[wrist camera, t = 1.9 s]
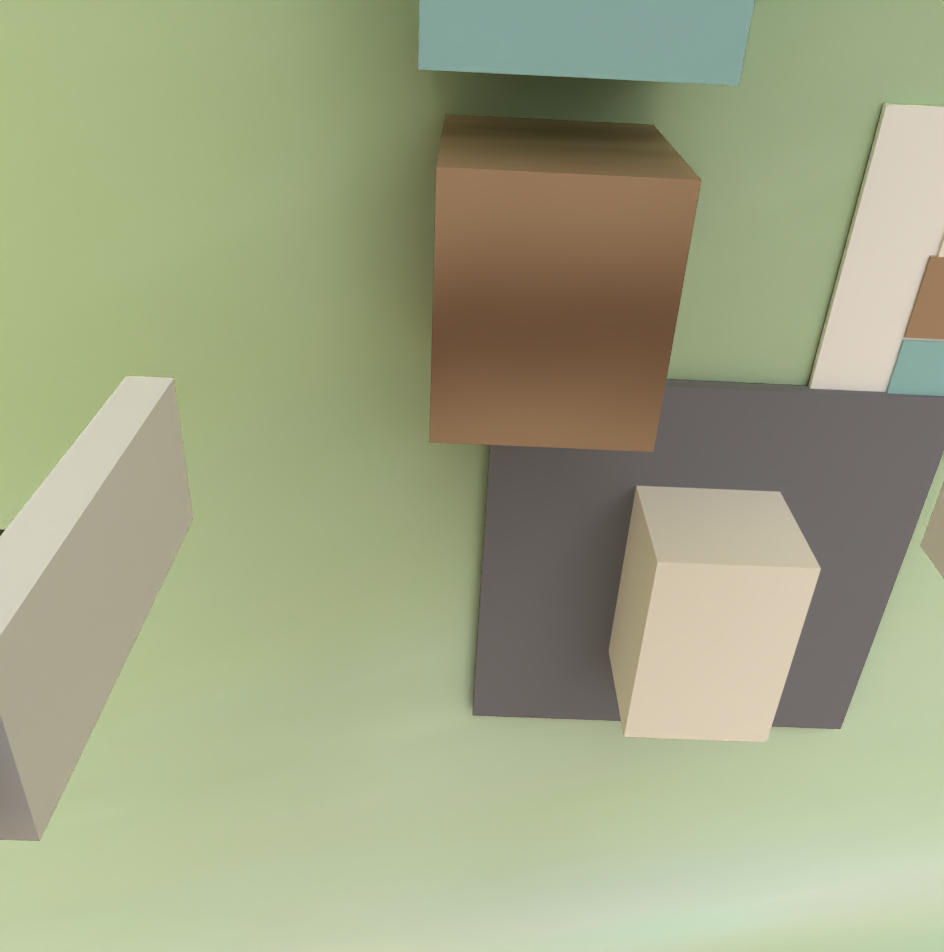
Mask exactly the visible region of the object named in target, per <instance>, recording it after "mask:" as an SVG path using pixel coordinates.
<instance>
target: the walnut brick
mask: <svg viewBox="0 0 944 952" xmlns="http://www.w3.org/2000/svg"><path fill="white" fill-rule="evenodd" d="M700 185H701V179H700V178H699V177H698V176H697V175H696V173H695V172H694V171H693V170H692V169H691V168H690V167H689V165H688V164H687V163H686V162H685V161H684V160H683V158H682V157H681V156H680V155H679V154H678V153H677V152H676V150H675V149H674V148H673V147H672V146H671V145H670V144H669V142H668V141H667V140H666V139H665V138H664V137H663V135H662V134H661V133H660V132H659V131H658V130H657V129H656V127H655V126H654V125H648V124H628V123H608V122H588V121H568V120H548V119H528V118H509V117H489V116H469V115H449V114H445V120H444V126H443V131H442V137H441V143H440V148H439V154H438V160H437V166H436V197H435V238H434V278H433V319H432V360H431V400H430V441H429V442H437V443H460V444H483V445H506V446H529V447H552V448H575V449H598V450H621V451H644V452H654V446H655V441H656V435H657V429H658V424H659V418H660V412H661V407H662V401H663V395H664V390H665V384H666V378H667V372H668V367H669V361H670V355H671V350H672V344H673V338H674V333H675V327H676V321H677V316H678V310H679V304H680V298H681V293H682V287H683V281H684V276H685V270H686V264H687V259H688V253H689V247H690V242H691V236H692V230H693V225H694V219H695V213H696V207H697V202H698V196H699V190H700Z"/></svg>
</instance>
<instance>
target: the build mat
mask: <svg viewBox="0 0 944 952" xmlns="http://www.w3.org/2000/svg"><path fill="white" fill-rule="evenodd" d="M943 451H944V396H933V395H910V394H888V393H886V392H875V391H852V390H830V389H810V388H809V386H803V385H781V384H758V383H736V382H714V381H691V380H669V379H666V384H665V390H664V395H663V401H662V407H661V412H660V418H659V424H658V429H657V435H656V441H655V446H654V452H644V451H621V450H598V449H575V448H552V447H529V446H506V445H490V451H489V466H488V482H487V497H486V512H485V528H484V543H483V559H482V574H481V589H480V605H479V620H478V636H477V651H476V667H475V682H474V697H473V715H476V716H503V717H530V718H557V719H584V720H611V721H621V723H622V729H623V734H624V737H639V738H666V739H693V740H720V741H748V742H767V739H768V736H769V733H770V730H771V727H799V728H826V729H841V726H842V723H843V721H844V718H845V715H846V713H847V710H848V707H849V705H850V702H851V699H852V696H853V694H854V691H855V688H856V686H857V683H858V680H859V678H860V675H861V672H862V670H863V667H864V664H865V661H866V659H867V656H868V653H869V651H870V648H871V645H872V643H873V640H874V637H875V635H876V632H877V629H878V626H879V624H880V621H881V618H882V616H883V613H884V610H885V608H886V605H887V602H888V599H889V597H890V594H891V591H892V589H893V586H894V583H895V581H896V578H897V575H898V573H899V570H900V567H901V564H902V562H903V559H904V556H905V554H906V551H907V548H908V546H909V543H910V540H911V538H912V535H913V532H914V529H915V527H916V524H917V521H918V519H919V516H920V513H921V511H922V508H923V505H924V502H925V500H926V497H927V494H928V492H929V489H930V486H931V484H932V481H933V478H934V476H935V473H936V470H937V467H938V465H939V462H940V459H941V457H942V454H943Z"/></svg>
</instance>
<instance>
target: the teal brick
mask: <svg viewBox="0 0 944 952" xmlns="http://www.w3.org/2000/svg"><path fill="white" fill-rule="evenodd" d="M754 3H755V0H419V52H418V70H438V71H458V72H478V73H498V74H518V75H538V76H558V77H578V78H598V79H617V80H637V81H657V82H677V83H697V84H717V85H737V86H739V83H740V78H741V73H742V67H743V62H744V56H745V51H746V46H747V40H748V35H749V30H750V24H751V19H752V14H753V8H754Z"/></svg>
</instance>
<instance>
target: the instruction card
mask: <svg viewBox="0 0 944 952" xmlns="http://www.w3.org/2000/svg"><path fill="white" fill-rule="evenodd" d="M808 386H809V388H810V389H830V390H852V391H875V392H886V393H888V394H910V395H933V396H944V106H926V105H906V104H886V103H884V104H883V108H882V112H881V115H880V119H879V123H878V127H877V130H876V134H875V138H874V141H873V145H872V149H871V153H870V156H869V160H868V164H867V168H866V171H865V175H864V179H863V182H862V186H861V190H860V194H859V197H858V201H857V205H856V209H855V212H854V216H853V220H852V224H851V227H850V231H849V235H848V238H847V242H846V246H845V250H844V253H843V257H842V261H841V265H840V268H839V272H838V276H837V280H836V283H835V287H834V291H833V294H832V298H831V302H830V306H829V309H828V313H827V317H826V321H825V324H824V328H823V332H822V336H821V339H820V343H819V347H818V350H817V354H816V358H815V362H814V365H813V369H812V373H811V377H810V380H809V384H808ZM943 453H944V451H943Z"/></svg>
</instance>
